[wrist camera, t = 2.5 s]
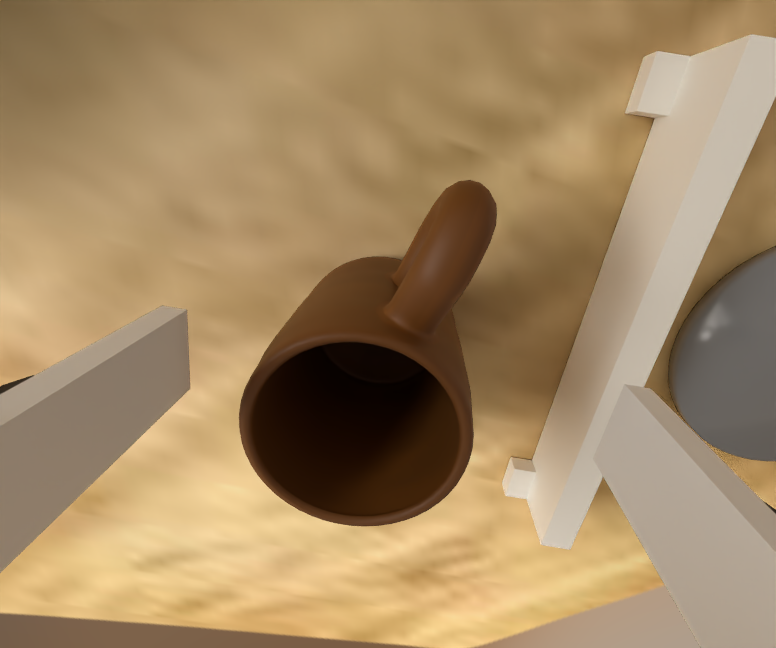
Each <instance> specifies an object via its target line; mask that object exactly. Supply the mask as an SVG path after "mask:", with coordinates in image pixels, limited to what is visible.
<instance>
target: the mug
mask: <svg viewBox="0 0 776 648" xmlns="http://www.w3.org/2000/svg"><path fill="white" fill-rule="evenodd" d="M496 218H497V208H496V203H495V201H494V199H493V197H492V195H491V193H490V191H489V190H488V189H487V188H486V187H485V186H483V185H482V184H481V183H479V182H475V181H471V180H466V181H459V182H457V183H455V184H453V185H452V186H450V187H448V188H446V189H445V191H444V192H443V193H442V194H441V195H440V197H439V198H438V199H437V201H436V202H435V203H434V205H433V206H432V208H431V210H430V211H429V213H428V214H427V216H426V218H425V220H424V221H423V223H422V225H421V227H420V228H419V230H418V232H417V234H416V236H415V238H414V240H413V242H412V243H411V245H410V247H409V249H408V251H407V253H406V255H405V257H404V259H403V261H401V260H398V259H394V258H388V257H367V258H361V259H357V260H353V261H350V262H348V263H345V264H343V265H341V266H339V267H338V268H336V269H334V270H333V271H332V272H330V273H329V274H328V275H327V276H325V277H324V278H323V279H322V280H321V281H320V282H319V284H318V285H317V286H316V287H315V288H314V289H313V291H312V292H311V293H310V294H309V296H308V297H307V298H306V299H305V300H304V301H303V303H302V304H301V305H300V306H299V307H298V309H297V310H296V311H295V313H294V314H293V315H292V316H291V318H290V319H289V320H288V321H287V323H286V324H285V325H284V327H283V328H282V329H281V330H280V332H279V333H278V334H277V335H276V337H275V338H274V340H273V341H272V342H271V344H270V345H269V347H268V348H267V350H266V351H265V353H264V355H263V356H262V358H261V360H260V362H259V364H258V366H257V368H256V369H255V371H254V372H253V374H252V376H251V377H250V379H249V381H248V383H247V385H246V387H245V390H244V393H243V396H242V399H241V404H240V412H239V427H240V434H241V440H242V444H243V447H244V450H245V453H246V455H247V457H248V459H249V461H250V463H251V465H252V467H253V468H254V470H255V472H256V473H257V475H258V476H259V477H260V478H261V480H262V481H263V482H264V483H265V484H266V485H267V486H268V487H269V488H270V489H271V490H272V491H273V492H274V493H275V494H276V495H277V496H279V497H280V498H281V499H283V500H284V501H285V502H287V503H288V504H290V505H292V506H293V507H295V508H297V509H298V510H300V511H302V512H305V513H307V514H309V515H311V516H314V517H317V518H319V519H322V520H325V521H329V522H333V523H337V524H344V525H351V526H379V525H386V524H392V523H396V522H400V521H404V520H407V519H410V518H412V517H415V516H417V515H419V514H421V513H423V512H425V511H427V510H429V509H430V508H432V507H433V506H435V505H436V504H438V503H439V502H440V501H441V500H442V499H444V498H445V497H446V496H447V495H448V494H449V493H450V492H451V491H452V489H453V488H454V487H455V486H456V485H457V483H458V481H459V480H460V478H461V477H462V475H463V473H464V472H465V469H466V467H467V465H468V462H469V460H470V456H471V452H472V448H473V437H474V432H473V418H472V403H471V392H470V386H469V381H468V376H467V372H466V367H465V363H464V358H463V354H462V349H461V345H460V341H459V336H458V333H457V329H456V325H455V320H454V316H453V312H452V310H451V308H452V307H453V305H454V304H455V303H456V301H457V300H458V299H459V297H460V296H461V295H462V293H463V292H464V290H465V289H466V287H467V286H468V284H469V282H470V281H471V279H472V277H473V275H474V273H475V272H476V270H477V268H478V266H479V264H480V262H481V260H482V258H483V256H484V254H485V252H486V250H487V248H488V246H489V244H490V241H491V239H492V235H493V232H494V229H495V226H496Z"/></svg>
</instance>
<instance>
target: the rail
mask: <svg viewBox="0 0 776 648" xmlns="http://www.w3.org/2000/svg"><path fill="white" fill-rule="evenodd" d="M775 97H776V38H772V37H766V36H759V35H753V34H751V35H748V36H745V37H742V38H740V39H737V40H734V41H731V42H728V43H726V44H723V45H720V46H717V47H715V48H712V49H709V50H706V51H704V52H701V53H698V54H695V55H693V56H686V55H680V54H674V53H667V52H661V51H656V52H654V53H651V54H649V55H647V56H644V57H643V60H642V63H641V66H640V69H639V72H638V75H637V78H636V81H635V84H634V87H633V90H632V93H631V96H630V99H629V102H628V105H627V108H626V111H625V113H626V114H632V115H639V116H645V117H651V118H655V119H654V122H653V125H652V128H651V130H650V133H649V136H648V139H647V141H646V144H645V147H644V150H643V153H642V155H641V158H640V161H639V164H638V167H637V169H636V172H635V175H634V178H633V180H632V183H631V186H630V189H629V192H628V194H627V197H626V200H625V203H624V206H623V208H622V211H621V214H620V217H619V219H618V222H617V225H616V228H615V231H614V233H613V236H612V239H611V242H610V244H609V247H608V250H607V253H606V256H605V258H604V261H603V264H602V267H601V270H600V272H599V275H598V278H597V281H596V283H595V286H594V289H593V292H592V295H591V297H590V300H589V303H588V306H587V309H586V311H585V314H584V317H583V320H582V322H581V325H580V328H579V331H578V334H577V336H576V339H575V342H574V345H573V347H572V350H571V353H570V356H569V359H568V361H567V364H566V367H565V370H564V373H563V375H562V378H561V381H560V384H559V386H558V389H557V392H556V395H555V398H554V400H553V403H552V406H551V409H550V412H549V414H548V417H547V420H546V423H545V425H544V428H543V431H542V434H541V437H540V439H539V442H538V445H537V448H536V450H535V453H534V456H533V459H532V460H527V459H521V458H515V457H510V460H509V463H508V466H507V469H506V472H505V475H504V478H503V481H502V485H503V489H504V493H505V496H510V497H516V498H522V499H527V502H528V505H529V508H530V512H531V515H532V518H533V521H534V524H535V527H536V531H537V534H538V537H539V540H540V543H541V545H545V546H551V547H557V548H563V549H569V550H570V549H571V547H572V544H573V542H574V540H575V538H576V535H577V533H578V531H579V529H580V527H581V524H582V522H583V520H584V518H585V516H586V513H587V511H588V509H589V507H590V505H591V502H592V500H593V498H594V496H595V494H596V491H597V489H598V487H599V485H600V483H601V480H602V478H603V475H602V474H601V472H600V470H599V468H598V467H597V465H596V463H595V461H594V460H593V457H594V455H595V453H596V450H597V448H598V446H599V443H600V441H601V438H602V436H603V434H604V431H605V429H606V427H607V424H608V422H609V419H610V417H611V415H612V412H613V410H614V408H615V405H616V403H617V400H618V398H619V396H620V393H621V391H622V389H623V386H624V384H627V385H633V386H639V387H644V386H645V383H646V381H647V379H648V377H649V375H650V372H651V370H652V368H653V366H654V364H655V361H656V359H657V357H658V355H659V353H660V350H661V348H662V346H663V344H664V342H665V339H666V337H667V335H668V333H669V331H670V328H671V326H672V324H673V322H674V320H675V317H676V315H677V313H678V311H679V309H680V306H681V304H682V302H683V300H684V298H685V295H686V293H687V291H688V289H689V287H690V284H691V282H692V280H693V278H694V276H695V273H696V271H697V269H698V267H699V264H700V262H701V260H702V258H703V256H704V253H705V251H706V249H707V247H708V245H709V242H710V240H711V238H712V236H713V234H714V231H715V229H716V227H717V225H718V223H719V220H720V218H721V216H722V214H723V212H724V209H725V207H726V205H727V203H728V201H729V198H730V196H731V194H732V192H733V190H734V187H735V185H736V183H737V181H738V179H739V176H740V174H741V172H742V170H743V168H744V165H745V163H746V161H747V159H748V157H749V154H750V152H751V150H752V148H753V146H754V143H755V141H756V139H757V137H758V134H759V132H760V130H761V128H762V126H763V123H764V121H765V119H766V117H767V115H768V112H769V110H770V108H771V106H772V104H773V101H774V99H775Z"/></svg>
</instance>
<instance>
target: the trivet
mask: <svg viewBox="0 0 776 648" xmlns="http://www.w3.org/2000/svg"><path fill="white" fill-rule="evenodd" d="M668 380H669V389H670V393H671V397H672V400H673V402H674V405H675V407H676V409H677V411H678V412H679V414H680V415H681V417H682V418H683V419H684V421H685V422H686V423H687V424H688V425H689V426H690V427H691V428H692V429H693V430H694V431H695V432H696V433H697V434H698V435H699V436H700V437H701V438H702V439H704V440H705V441H707V442H708V443H709V444H711V445H712V446H714V447H716V448H718V449H720V450H722V451H724V452H726V453H729V454H732V455H735V456H738V457H742V458H747V459H752V460H761V461H776V246H775V247H773V248H771V249H768V250H766V251H764V252H762V253H760V254H758V255H756V256H754V257H753V258H751V259H749V260H748V261H746V262H745V263H743V264H741V265H740V266H738V267H737V268H735V269H734V270H733V271H731V272H730V273H729V274H727V275H726V276H725V277H723V278H722V279H721V280H720V281H719V282H718V283H717V284H716V285H714V286H713V287H712V288H711V289H710V290H709V291H708V292H707V293H706V294H705V295H704V296H703V298H702V299H701V300H700V301H699V302H698V303H697V304H696V306H695V307H694V308H693V310H692V311H691V313H690V314H689V315H688V317H687V318H686V320H685V322H684V323H683V325H682V327H681V329H680V331H679V333H678V335H677V337H676V340H675V343H674V345H673V348H672V352H671V356H670V360H669V370H668Z"/></svg>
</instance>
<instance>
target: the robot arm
mask: <svg viewBox="0 0 776 648" xmlns="http://www.w3.org/2000/svg"><path fill="white" fill-rule="evenodd" d="M189 389H190V371H189V346H188V322H187V310H186V309H180V308H174V307H168V306H160V307H158V308H157V309H155V310H153V311H151V312H149V313H148V314H146V315H144V316H142V317H140V318H138V319H137V320H135V321H133V322H131V323H129V324H127V325H126V326H124V327H122V328H120V329H118V330H117V331H115V332H113V333H111V334H109V335H107V336H106V337H104V338H102V339H100V340H98V341H97V342H95V343H93V344H91V345H89V346H87V347H86V348H84V349H82V350H80V351H78V352H77V353H75V354H73V355H71V356H69V357H67V358H66V359H64V360H62V361H60V362H58V363H57V364H55V365H53V366H51V367H49V368H47V369H46V370H44V371H42V372H40V373H38V374H36V375H32V376H29V377H26V378H23V379H20V380H17V381H14V382H11V383H8V384H5V385H2V386H1V387H0V573H1V572H2V571H3V570H4V569H5V568H6V567H7V566H8V565H9V564H10V563H11V562H12V561H13V560H14V559H15V558H16V557H17V556H18V555H19V554H20V553H21V552H22V551H23V550H24V549H25V548H26V547H27V546H28V545H29V544H30V543H31V542H33V541H34V540H35V539H36V538H37V537H38V536H39V535H40V534H41V533H42V532H43V531H44V530H45V529H46V528H47V527H48V526H49V525H50V524H51V523H52V522H53V521H54V520H55V519H56V518H57V517H58V516H59V515H60V514H61V513H62V512H63V511H64V510H66V509H67V508H68V507H69V506H70V505H71V504H72V503H73V502H74V501H75V500H76V499H77V498H78V497H79V496H80V495H81V494H82V493H83V492H84V491H85V490H86V489H87V488H88V487H89V486H90V485H91V484H92V483H93V482H94V481H95V480H96V479H97V478H98V477H100V476H101V475H102V474H103V473H104V472H105V471H106V470H107V469H108V468H109V467H110V466H111V465H112V464H113V463H114V462H115V461H116V460H117V459H118V458H119V457H120V456H121V455H122V454H123V453H124V452H125V451H126V450H127V449H128V448H129V447H130V446H131V445H133V444H134V443H135V442H136V441H137V440H138V439H139V438H140V437H141V436H142V435H143V434H144V433H145V432H146V431H147V430H148V429H149V428H150V427H151V426H152V425H153V424H154V423H155V422H156V421H157V420H158V419H159V418H160V417H161V416H162V415H163V414H164V413H165V412H167V411H168V410H169V409H170V408H171V407H172V406H173V405H174V404H175V403H176V402H177V401H178V400H179V399H180V398H181V397H182V396H183V395H184V394H185V393H186V392H187V391H188V390H189ZM593 460H594V461H595V463H596V465H597V467H598V468H599V470H600V472H601V474H602V475H603V477H604V479H605V481H606V482H607V484H608V486H609V488H610V489H611V491H612V493H613V495H614V497H615V498H616V500H617V502H618V504H619V505H620V507H621V509H622V511H623V512H624V514H625V516H626V518H627V519H628V521H629V523H630V525H631V527H632V528H633V530H634V532H635V534H636V535H637V537H638V539H639V541H640V542H641V544H642V546H643V548H644V549H645V551H646V553H647V555H648V556H649V558H650V560H651V562H652V564H653V565H654V567H655V569H656V571H657V572H658V574H659V576H660V578H661V579H662V581H663V583H664V585H665V586H666V588H667V590H668V592H669V593H670V595H671V597H672V599H673V601H674V602H675V604H676V606H677V608H678V609H679V611H680V613H681V615H682V616H683V618H684V620H685V622H686V623H687V625H688V627H689V629H690V630H691V632H692V634H693V636H694V637H695V639H696V641H697V643H698V645H699V646H700V648H776V510H775V509H774V508H772V507H771V506H769V505H768V504H767V503H765V502H764V501H762V500H761V499H760V498H759V497H758V496H757V495H756V494H755V493H754V492H753V491H752V490H751V489H750V488H749V487H748V486H747V485H746V484H745V483H744V482H743V481H742V480H741V479H740V478H739V477H738V476H737V475H736V474H735V473H734V472H733V471H732V470H731V469H730V468H729V467H728V466H727V465H726V464H725V463H724V462H723V461H722V460H721V459H720V458H719V457H718V456H717V455H716V454H715V453H714V452H713V451H712V450H711V449H710V448H709V447H708V446H707V445H706V444H705V443H704V442H703V441H702V440H701V439H700V438H699V437H698V436H697V435H696V434H695V433H694V432H693V431H692V430H691V429H690V428H689V427H688V425H687V424H686V423H685V422H684V421H683V420H682V419H681V418H680V417H679V416H678V415H677V414H676V413H675V412H674V411H673V410H672V409H671V408H670V407H669V406H668V405H667V404H666V403H665V402H664V401H663V400H662V399H661V398H660V397H659V396H658V395H657V394H656V393H655V392H654V391H653V390H652V389H651V388H645V387H639V386H633V385H627V384H624V386H623V389H622V391H621V393H620V396H619V398H618V400H617V403H616V405H615V408H614V410H613V412H612V415H611V417H610V419H609V422H608V424H607V427H606V429H605V431H604V434H603V436H602V438H601V441H600V443H599V446H598V448H597V450H596V453H595V455H594V457H593Z"/></svg>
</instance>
